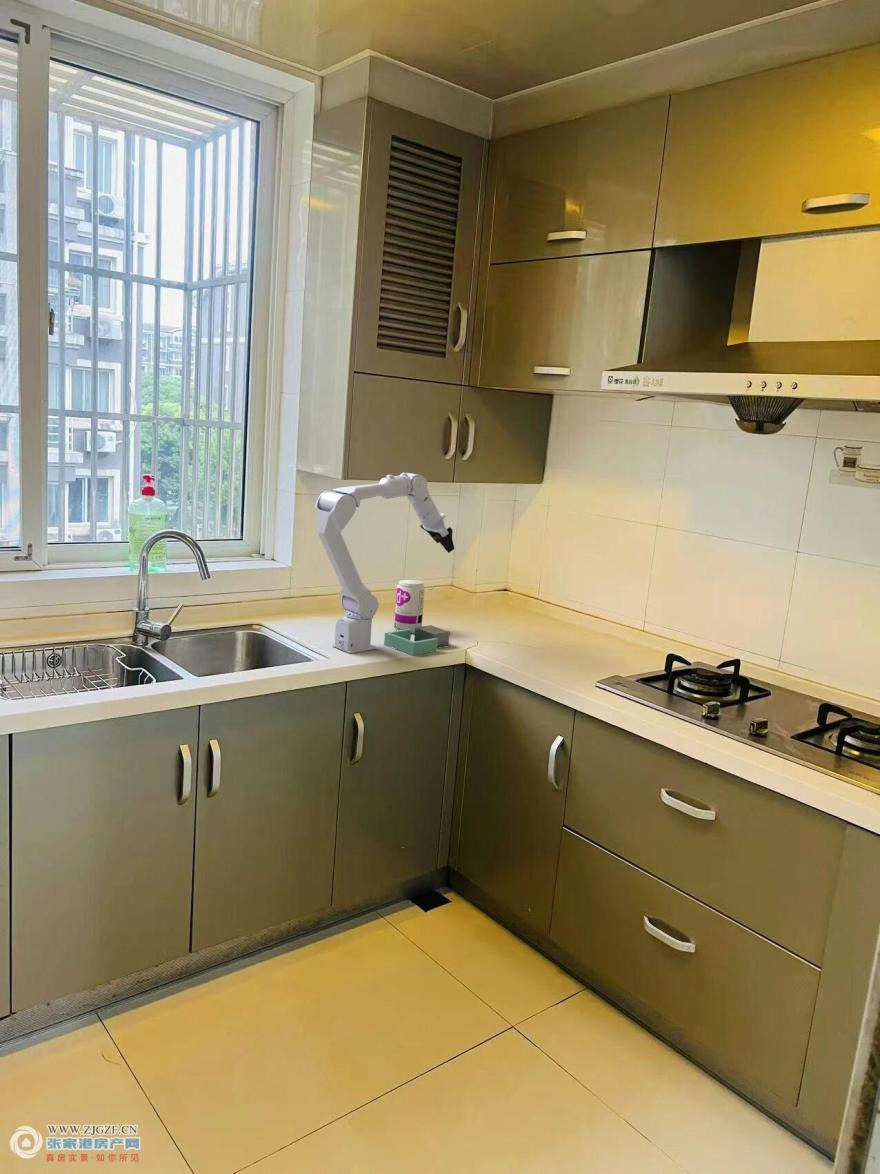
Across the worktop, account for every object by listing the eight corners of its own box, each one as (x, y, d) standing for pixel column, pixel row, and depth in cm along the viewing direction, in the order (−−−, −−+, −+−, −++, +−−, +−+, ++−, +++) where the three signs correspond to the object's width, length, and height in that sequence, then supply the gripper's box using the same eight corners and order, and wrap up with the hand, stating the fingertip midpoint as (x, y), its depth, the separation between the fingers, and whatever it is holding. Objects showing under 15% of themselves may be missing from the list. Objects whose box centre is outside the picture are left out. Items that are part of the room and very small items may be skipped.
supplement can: (405, 635, 258) (408, 585, 255) (388, 628, 264) (391, 579, 261) (426, 632, 263) (430, 583, 260) (410, 625, 269) (413, 577, 266)
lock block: (432, 649, 246) (433, 634, 245) (414, 642, 252) (415, 627, 251) (448, 647, 250) (449, 631, 249) (429, 640, 256) (430, 625, 255)
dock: (412, 655, 238) (413, 643, 237) (384, 644, 246) (384, 632, 245) (436, 651, 244) (437, 638, 243) (408, 640, 252) (408, 628, 252)
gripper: (448, 510, 242) (467, 546, 250) (427, 493, 254) (446, 529, 261) (427, 524, 241) (447, 560, 249) (407, 507, 253) (426, 542, 260)
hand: (445, 545), depth 255 cm, fingers open, 7 cm apart
